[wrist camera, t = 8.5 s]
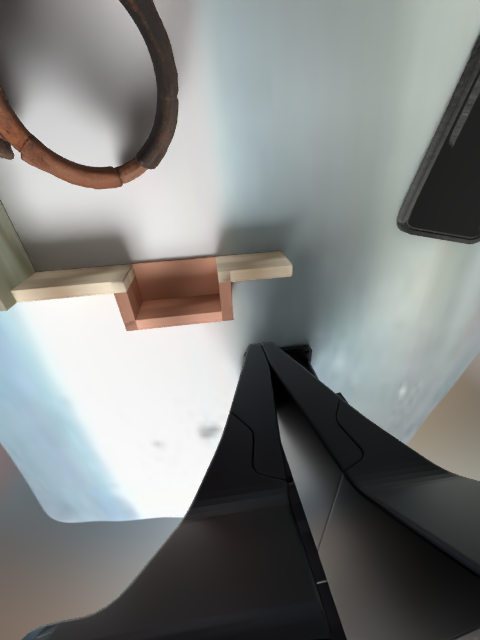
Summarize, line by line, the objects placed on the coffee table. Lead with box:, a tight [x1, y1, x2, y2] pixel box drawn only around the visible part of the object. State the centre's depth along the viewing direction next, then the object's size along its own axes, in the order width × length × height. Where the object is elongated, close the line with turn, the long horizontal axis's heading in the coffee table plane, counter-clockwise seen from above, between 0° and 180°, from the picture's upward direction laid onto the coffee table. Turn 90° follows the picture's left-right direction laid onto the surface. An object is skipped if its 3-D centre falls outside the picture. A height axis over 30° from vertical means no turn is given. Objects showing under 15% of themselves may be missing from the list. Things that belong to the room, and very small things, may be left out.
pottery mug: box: [0, 0, 178, 189], centre depth 12 cm, size 12×10×8 cm
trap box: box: [0, 201, 293, 331], centre depth 14 cm, size 18×22×4 cm
